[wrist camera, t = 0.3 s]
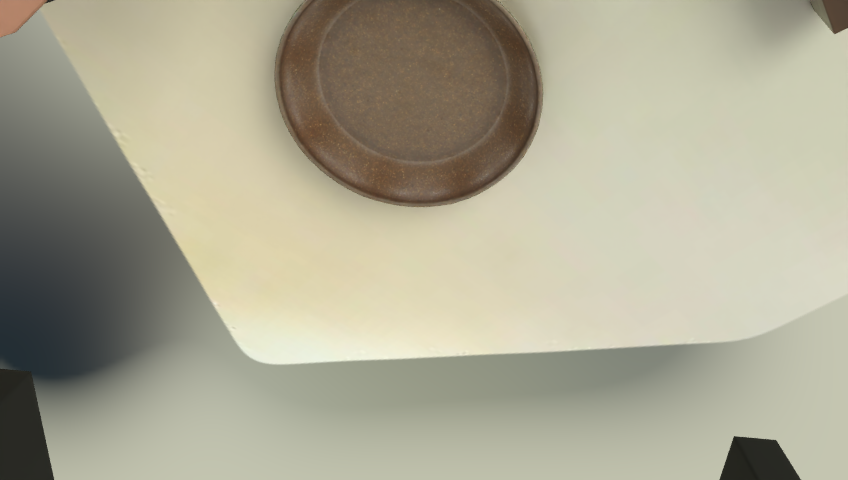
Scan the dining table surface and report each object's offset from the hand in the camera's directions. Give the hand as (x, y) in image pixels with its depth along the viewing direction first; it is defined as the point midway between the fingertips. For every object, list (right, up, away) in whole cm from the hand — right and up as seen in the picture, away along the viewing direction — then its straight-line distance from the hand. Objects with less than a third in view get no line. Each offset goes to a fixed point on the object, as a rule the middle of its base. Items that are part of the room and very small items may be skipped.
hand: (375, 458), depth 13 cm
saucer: (0, +14, +26) cm, 29 cm away
